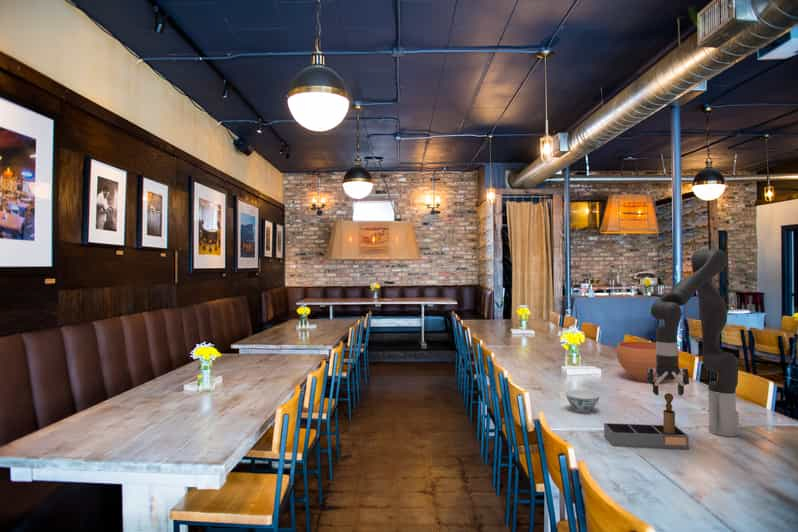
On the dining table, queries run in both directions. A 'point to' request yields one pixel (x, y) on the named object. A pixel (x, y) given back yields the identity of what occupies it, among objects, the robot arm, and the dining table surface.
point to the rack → (644, 436)
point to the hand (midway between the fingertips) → (668, 395)
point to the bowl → (637, 358)
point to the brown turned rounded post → (669, 417)
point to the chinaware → (582, 399)
